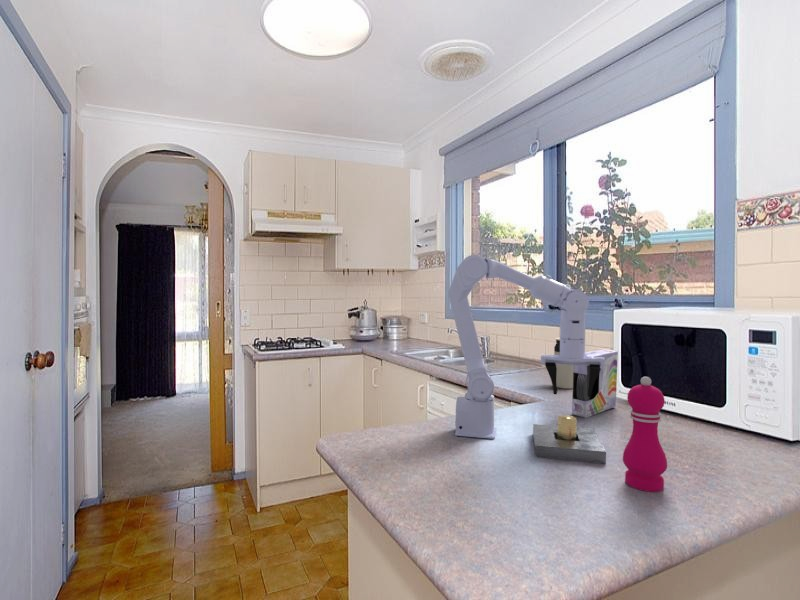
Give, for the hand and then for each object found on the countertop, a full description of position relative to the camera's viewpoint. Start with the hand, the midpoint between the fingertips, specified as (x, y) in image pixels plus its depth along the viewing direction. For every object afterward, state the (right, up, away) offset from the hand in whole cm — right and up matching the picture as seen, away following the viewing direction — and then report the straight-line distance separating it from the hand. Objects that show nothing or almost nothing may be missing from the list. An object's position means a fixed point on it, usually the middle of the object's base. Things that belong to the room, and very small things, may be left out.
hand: (571, 394), depth 111 cm
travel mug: (+20, -9, +58) cm, 62 cm away
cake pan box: (+16, -10, +24) cm, 30 cm away
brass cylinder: (-4, -11, -8) cm, 14 cm away
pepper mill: (+3, -11, -27) cm, 29 cm away
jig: (-4, -11, -7) cm, 13 cm away
